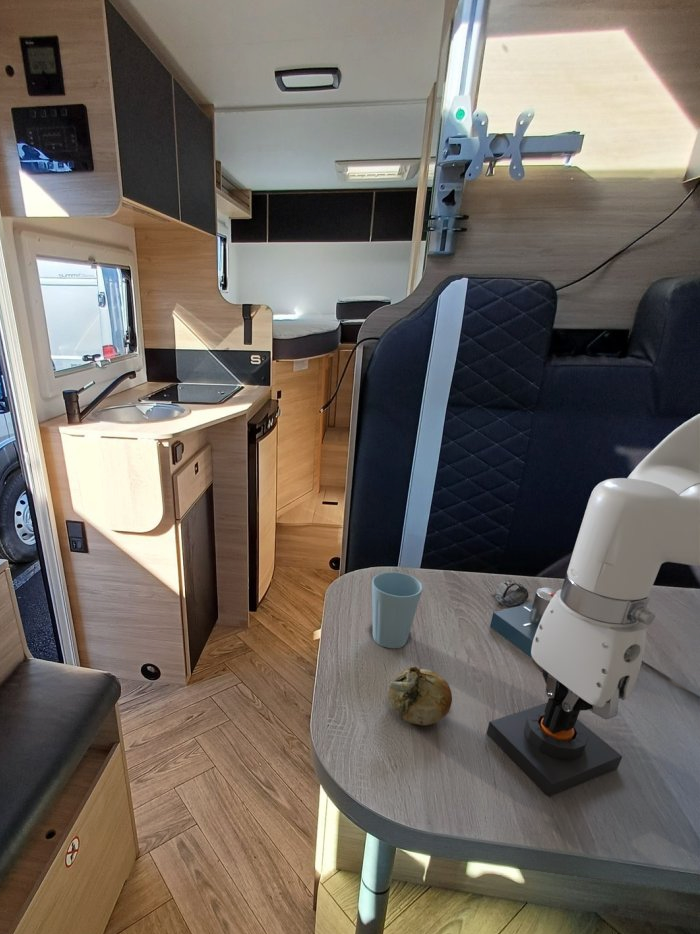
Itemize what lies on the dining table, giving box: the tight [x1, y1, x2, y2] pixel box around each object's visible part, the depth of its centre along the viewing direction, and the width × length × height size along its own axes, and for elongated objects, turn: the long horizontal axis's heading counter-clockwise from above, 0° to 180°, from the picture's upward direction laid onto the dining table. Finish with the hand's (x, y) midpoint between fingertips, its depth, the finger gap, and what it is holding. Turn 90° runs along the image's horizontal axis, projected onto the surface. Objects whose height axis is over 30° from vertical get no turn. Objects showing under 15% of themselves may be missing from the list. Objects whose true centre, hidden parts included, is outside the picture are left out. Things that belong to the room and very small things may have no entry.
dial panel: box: [489, 602, 538, 659], centre depth 85 cm, size 12×10×3 cm
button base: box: [486, 702, 623, 798], centre depth 63 cm, size 11×10×4 cm
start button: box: [540, 718, 574, 741], centre depth 63 cm, size 4×4×2 cm
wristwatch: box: [495, 578, 530, 607], centre depth 95 cm, size 3×5×5 cm
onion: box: [388, 665, 453, 726], centre depth 68 cm, size 8×8×8 cm
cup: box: [371, 571, 424, 649], centre depth 83 cm, size 8×8×10 cm
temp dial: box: [529, 587, 559, 626], centre depth 84 cm, size 4×4×5 cm
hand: (556, 726), depth 62 cm, fingers closed
